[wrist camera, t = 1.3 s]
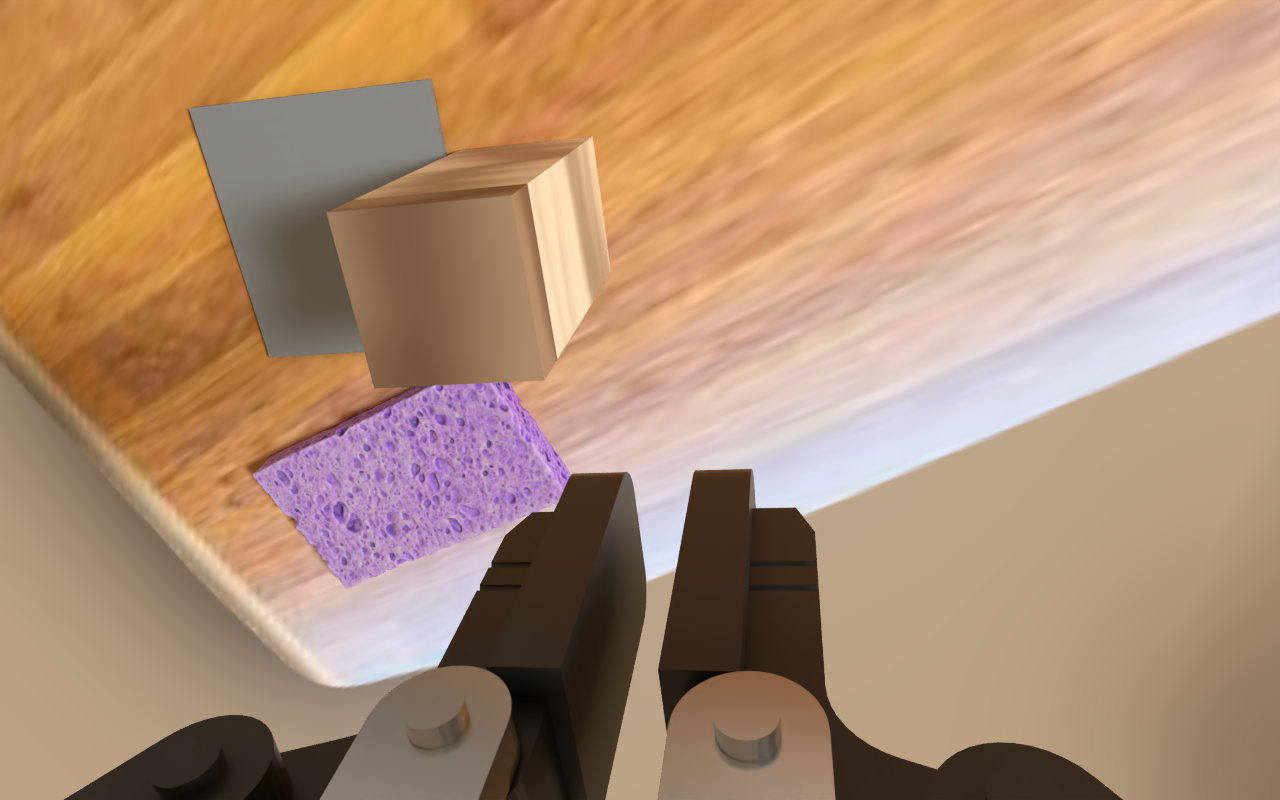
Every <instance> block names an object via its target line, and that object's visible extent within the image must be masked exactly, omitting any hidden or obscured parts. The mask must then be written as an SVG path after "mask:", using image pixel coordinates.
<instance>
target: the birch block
mask: <svg viewBox="0 0 1280 800" xmlns="http://www.w3.org/2000/svg"><path fill="white" fill-rule="evenodd" d="M326 213H327V216H328V220H329V224H330V227H331V231H332V235H333V238H334V242H335V246H336V249H337V253H338V257H339V260H340V264H341V268H342V271H343V275H344V279H345V282H346V286H347V290H348V293H349V297H350V301H351V304H352V308H353V312H354V315H355V319H356V323H357V326H358V330H359V333H360V337H361V341H362V344H363V348H364V352H365V355H366V359H367V363H368V366H369V370H370V374H371V377H372V381H373V385H374V388H394V387H415V386H436V385H457V384H479V383H500V382H521V381H542V380H545V378H546V377H547V375H548V374H549V372H550V370H551V369H552V367H553V365H554V364H555V362H556V361H557V359H558V357H559V356H560V354H561V353H562V351H563V349H564V348H565V346H566V344H567V343H568V341H569V340H570V338H571V336H572V335H573V333H574V332H575V330H576V328H577V327H578V325H579V323H580V322H581V320H582V319H583V317H584V315H585V314H586V312H587V311H588V309H589V307H590V306H591V304H592V302H593V301H594V299H595V298H596V296H597V294H598V293H599V291H600V290H601V288H602V286H603V285H604V283H605V282H606V280H607V278H608V277H609V275H610V273H611V270H610V263H609V255H608V248H607V241H606V233H605V226H604V218H603V211H602V204H601V196H600V189H599V181H598V174H597V167H596V159H595V152H594V144H593V137H582V138H573V139H563V140H553V141H543V142H534V143H524V144H514V145H504V146H495V147H485V148H475V149H465V150H459V151H456V152H454V153H452V154H450V155H448V156H446V157H444V158H442V159H439V160H437V161H435V162H433V163H431V164H429V165H427V166H424V167H422V168H420V169H418V170H416V171H414V172H412V173H410V174H407V175H405V176H403V177H401V178H399V179H397V180H395V181H392V182H390V183H388V184H386V185H384V186H382V187H380V188H378V189H375V190H373V191H371V192H369V193H367V194H365V195H363V196H360V197H358V198H356V199H354V200H352V201H350V202H348V203H345V204H343V205H341V206H339V207H337V208H335V209H333V210H331V211H328V212H326Z"/></svg>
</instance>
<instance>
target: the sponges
mask: <svg viewBox="0 0 1280 800" xmlns="http://www.w3.org/2000/svg"><path fill="white" fill-rule="evenodd" d="M253 477H254V478H255V479H256V480H257V481H258V483H259V484H260V485H261V486H262V487H263V489H264V490H265V491H266V492H267V493H268V494H269V495H270V496H271V498H272V500H273V501H274V502H275V503H276V504H277V505H278V506H279V507H280V509H281V510H282V512H283V513H284V514H285V515H287V516H291V517H293V518H294V519H295V520H296V522H297V525H296V528H297V530H298V531H300V532H301V533H302V534H303V535H304V536H305V538H306V540H307V541H308V543H309V544H311V545H314V546H315V547H316V550H317V552H318V553H319V554H320V555H321V556H322V559H323V560H325V561H327V566H328V568H329V569H330V570H331V571H332V572H333V574H334V575H335V576H337V577H338V578H339V579H340V581H341V583H342V585H343V586H344V587H345V588H350V587H352V586H355V585H357V584H358V583H360V582H362V581H365V580H367V579H369V578H372V577H376V576H378V575H380V574H382V573H384V572H386V571H387V570H390V569H393V568H396V567H397V565H399V564H400V563H403V562H405V561H407V560H408V561H414V560H416V559H419V558H420V557H424V556H427V555H431V554H433V553H435V552H436V551H437V550H439V549H441V548H447V547H450V546H452V545H453V544H454V543H459V542H462V541H465V540H467V539H470V538H472V537H474V536H477V535H480V534H482V533H484V532H487V531H490V530H491V529H493V528H497V527H500V526H503V525H505V524H508V523H510V522H512V521H515V520H517V519H519V518H521V517H523V516H526V515H529V514H531V513H532V512H538V511H539V510H541V509H544V508H546V507H550V506H553V505H555V504H557V503H558V502H559V499H560V497H561V495H562V493H563V490H564V488H565V486H566V483H567V481H568V479H569V477H570V472H569V470H568V468H567V467H566V465H565V464H564V463H563V461H562V460H561V458H560V457H559V456H558V455H557V454H556V452H555V451H554V449H553V447H552V445H551V444H550V443H549V441H548V439H547V438H546V436H545V435H544V434H543V432H542V431H541V430H540V429H539V427H538V425H537V423H536V422H535V420H534V419H533V418H532V417H531V415H530V413H529V412H528V411H527V410H525V409H524V408H522V406H521V405H520V399H519V398H518V396H517V395H516V393H515V391H514V389H513V388H512V386H511V385H510V383H509V382H500V383H479V384H457V385H436V386H416V387H414V388H412V389H410V390H408V391H406V392H404V393H402V394H401V395H399V396H397V397H394V398H392V399H390V400H388V401H386V402H384V403H382V404H380V405H378V406H376V407H374V408H372V409H370V410H367V411H365V412H363V413H361V414H359V415H357V416H355V417H353V418H351V419H349V420H347V421H344V422H342V423H340V424H339V425H338V426H336V427H334V428H331V429H329V430H325V431H323V432H321V433H319V434H316V435H314V436H312V437H310V438H308V439H306V440H305V441H302V442H299V443H297V444H295V445H293V446H291V447H289V448H286V449H285V450H283V451H281V452H279V453H277V454H275V455H273V456H270V457H269V458H268V459H267V460H266V461H265V462H264V464H263V465H261V467H260V468H259V469H258V470H257V471H255V472H254V473H253Z"/></svg>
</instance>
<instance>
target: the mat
mask: <svg viewBox="0 0 1280 800" xmlns="http://www.w3.org/2000/svg"><path fill="white" fill-rule="evenodd" d="M189 111H190V114H191V117H192V120H193V123H194V126H195V129H196V132H197V136H198V139H199V142H200V145H201V148H202V151H203V154H204V157H205V160H206V163H207V166H208V169H209V173H210V176H211V179H212V182H213V185H214V188H215V191H216V194H217V197H218V200H219V203H220V206H221V209H222V213H223V216H224V219H225V222H226V225H227V228H228V231H229V234H230V237H231V240H232V243H233V246H234V249H235V253H236V256H237V259H238V262H239V265H240V268H241V271H242V274H243V277H244V280H245V283H246V286H247V289H248V293H249V296H250V299H251V302H252V305H253V308H254V311H255V314H256V317H257V320H258V323H259V326H260V330H261V333H262V336H263V339H264V342H265V345H266V348H267V351H268V354H269V357H285V356H303V355H321V354H338V353H356V352H364V348H363V344H362V341H361V337H360V333H359V330H358V326H357V323H356V319H355V315H354V312H353V308H352V304H351V301H350V297H349V293H348V290H347V286H346V282H345V279H344V275H343V271H342V268H341V264H340V260H339V257H338V253H337V249H336V246H335V242H334V238H333V235H332V231H331V227H330V224H329V220H328V216H327V213H326V212H328V211H331V210H333V209H335V208H337V207H339V206H341V205H343V204H345V203H348V202H350V201H352V200H354V199H356V198H358V197H360V196H363V195H365V194H367V193H369V192H371V191H373V190H375V189H378V188H380V187H382V186H384V185H386V184H388V183H390V182H392V181H395V180H397V179H399V178H401V177H403V176H405V175H407V174H410V173H412V172H414V171H416V170H418V169H420V168H422V167H424V166H427V165H429V164H431V163H433V162H435V161H437V160H439V159H442V158H444V157H446V156H447V153H446V148H445V143H444V139H443V134H442V129H441V124H440V119H439V114H438V110H437V105H436V100H435V95H434V90H433V85H432V81H431V79H427V80H419V81H410V82H402V83H394V84H385V85H377V86H369V87H360V88H352V89H344V90H336V91H327V92H319V93H311V94H302V95H294V96H286V97H277V98H269V99H261V100H252V101H244V102H236V103H227V104H219V105H211V106H202V107H194V108H189Z"/></svg>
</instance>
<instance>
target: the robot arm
mask: <svg viewBox="0 0 1280 800" xmlns="http://www.w3.org/2000/svg"><path fill="white" fill-rule="evenodd" d="M491 563H492V567H491V568H488V570H487V572H486V574H485V576H484V578H483V580H482V582H481V584H480V591H477V592H476V594H475V595H474V597H473V599H472V601H471V603H470V605H469V607H468V609H467V611H466V613H465V615H464V617H463V619H462V621H461V623H460V625H459V627H458V629H457V631H456V633H455V635H454V636H453V638H452V640H451V642H450V644H449V646H448V648H447V650H446V652H445V654H444V656H443V658H442V660H441V662H440V664H439V666H438V668H437V669H434V670H430V671H427V672H424V673H422V674H419V675H417V676H414V677H412V678H411V679H409V680H407V681H405V682H403V683H402V684H400V685H399V686H397V687H396V688H394V689H393V690H391V692H389V693H388V694H387V695H386V696H384V697H383V698H382V699H381V700H380V702H379V703H378V704H377V705H376V706H375V707H374V709H373V710H372V711H371V713H370V714H369V716H368V717H367V719H366V721H365V723H364V724H363V726H362V728H361V729H360V731H359V733H358V734H357V735H353V736H350V737H346V738H342V739H338V740H333V741H329V742H325V743H321V744H316V745H312V746H308V747H304V748H300V749H295V750H291V751H286V752H282V753H280V752H279V750H278V748H277V745H276V743H275V740H274V738H273V735H272V733H271V731H270V730H269V728H268V727H267V726H266V725H265V724H264V723H263V722H261V721H260V720H257V719H255V718H253V717H248V716H243V715H228V716H219V717H215V718H210V719H206V720H203V721H200V722H197V723H194V724H191V725H189V726H187V727H185V728H183V729H180V730H178V731H176V732H174V733H173V734H171V735H169V736H167V737H165V738H164V739H162V740H160V741H159V742H157V743H156V744H154V745H152V746H151V747H149V748H147V749H146V750H144V751H142V752H141V753H139V754H138V755H136V756H134V757H133V758H131V759H130V760H128V761H126V762H125V763H123V764H121V765H120V766H118V767H116V768H115V769H113V770H111V771H110V772H109V773H107V774H105V775H103V776H102V777H100V778H98V779H97V780H96V781H94V782H92V783H90V784H89V785H87V786H85V787H84V788H82V789H80V790H79V791H77V792H76V793H74V794H72V795H71V796H69V797H67V798H66V799H64V800H605V798H606V793H607V788H608V784H609V779H610V775H611V770H612V766H613V761H614V756H615V751H616V747H617V743H618V738H619V733H620V729H621V724H622V720H623V715H624V711H625V706H626V701H627V697H628V692H629V688H630V683H631V678H632V673H633V669H634V665H635V660H636V655H637V651H638V646H639V642H640V637H641V632H642V627H643V623H644V618H645V610H646V574H645V566H644V559H643V551H642V544H641V537H640V530H639V522H638V515H637V508H636V501H635V494H634V487H633V482H632V479H631V476H630V474H629V473H627V472H619V473H580V474H572V475H571V476H570V477H569V479H568V481H567V483H566V486H565V488H564V490H563V493H562V495H561V497H560V499H559V502H558V504H557V506H556V508H555V511H554V512H532V513H531V514H530V515H529V516H527V517H526V518H525V519H524V520H523V521H522V522H520V523H519V524H518V525H517V526H516V527H515V528H513V529H512V530H511V531H510V532H509V533H508V534H506V535H505V537H504V539H503V541H502V543H501V545H500V547H499V549H498V551H497V553H496V555H495V556H494V558H493V560H492V562H491ZM818 588H819V587H818V571H817V558H816V542H815V532H814V530H813V529H812V528H811V526H810V525H809V524H808V523H807V521H806V520H805V519H804V518H803V516H802V515H801V514H800V512H799V511H798V510H797V509H796V508H756V504H755V489H754V478H753V471H752V469H734V470H695V471H694V475H693V480H692V485H691V491H690V496H689V502H688V507H687V513H686V518H685V524H684V529H683V535H682V540H681V546H680V551H679V557H678V563H677V568H676V574H675V579H674V585H673V590H672V596H671V602H670V607H669V612H668V618H667V623H666V629H665V635H664V640H663V645H662V651H661V657H660V662H659V668H658V672H659V680H660V687H661V694H662V701H663V709H664V716H665V723H666V730H667V738H666V744H665V751H664V758H663V765H662V772H661V779H660V786H659V792H658V799H657V800H1122V799H1121V798H1120V797H1118V796H1117V795H1116V794H1115V793H1114V792H1113V791H1111V790H1110V789H1109V788H1108V787H1106V786H1105V785H1104V784H1103V783H1101V782H1100V781H1099V780H1098V779H1096V778H1095V777H1094V776H1092V775H1091V774H1089V773H1088V772H1087V771H1085V770H1084V769H1083V768H1081V767H1080V766H1078V765H1076V764H1074V763H1073V762H1071V761H1069V760H1067V759H1065V758H1063V757H1061V756H1059V755H1056V754H1054V753H1051V752H1049V751H1046V750H1043V749H1039V748H1036V747H1033V746H1028V745H1022V744H1016V743H999V742H997V743H987V744H980V745H977V746H972V747H969V748H966V749H964V750H962V751H960V752H957V753H956V754H954V755H953V756H951V757H950V758H949V759H947V760H946V761H945V762H944V763H943V764H942V765H941V766H940V767H939V768H938V770H937V769H934V768H930V767H927V766H924V765H921V764H917V763H914V762H910V761H907V760H904V759H901V758H898V757H895V756H893V755H890V754H887V753H885V752H882V751H880V750H879V749H877V748H875V747H873V746H871V745H869V744H867V743H866V742H865V741H863V740H861V739H860V738H859V737H857V736H856V735H855V734H854V733H853V732H851V731H850V730H849V729H848V728H847V727H846V726H845V725H844V724H843V723H842V722H841V720H840V719H839V718H838V717H837V715H836V714H835V712H834V710H833V709H832V707H831V705H830V702H829V700H828V697H827V693H826V688H825V675H824V661H823V646H822V632H821V617H820V601H819V589H818Z"/></svg>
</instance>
